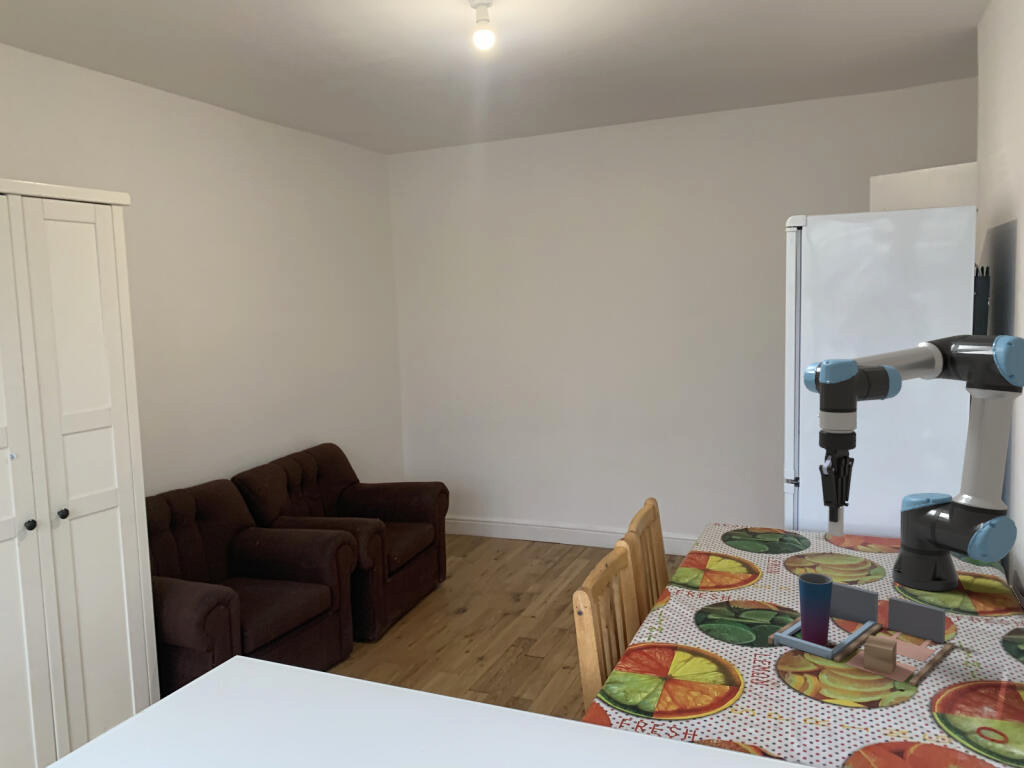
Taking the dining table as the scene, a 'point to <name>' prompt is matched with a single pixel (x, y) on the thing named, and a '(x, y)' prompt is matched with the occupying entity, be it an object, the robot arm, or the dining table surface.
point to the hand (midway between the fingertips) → (835, 535)
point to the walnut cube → (880, 654)
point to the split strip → (912, 622)
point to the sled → (843, 606)
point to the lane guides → (865, 637)
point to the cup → (815, 607)
